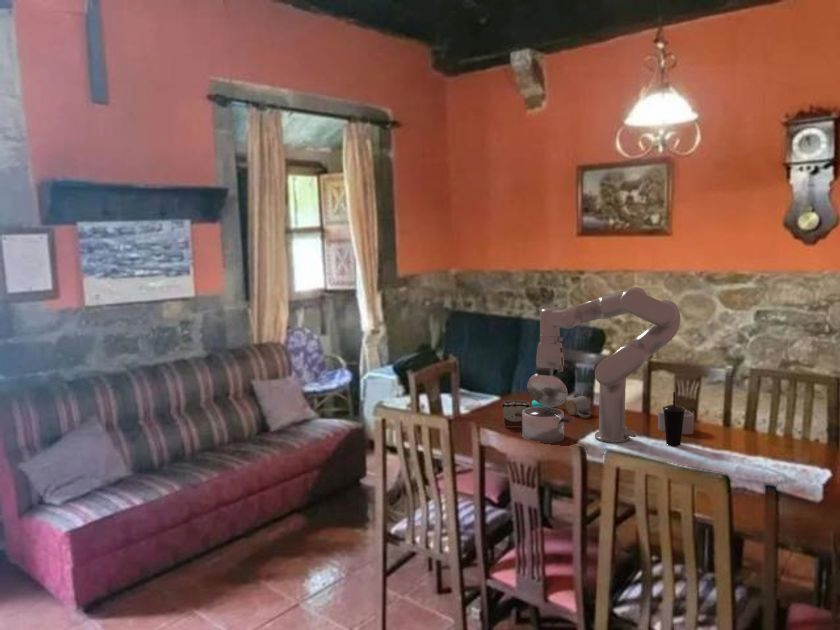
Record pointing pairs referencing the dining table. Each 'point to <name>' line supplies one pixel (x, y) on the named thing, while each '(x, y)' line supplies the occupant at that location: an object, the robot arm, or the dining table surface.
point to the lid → (547, 388)
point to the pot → (543, 424)
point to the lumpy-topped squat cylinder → (687, 422)
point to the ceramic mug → (578, 406)
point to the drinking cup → (673, 423)
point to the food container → (513, 412)
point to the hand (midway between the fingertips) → (549, 385)
